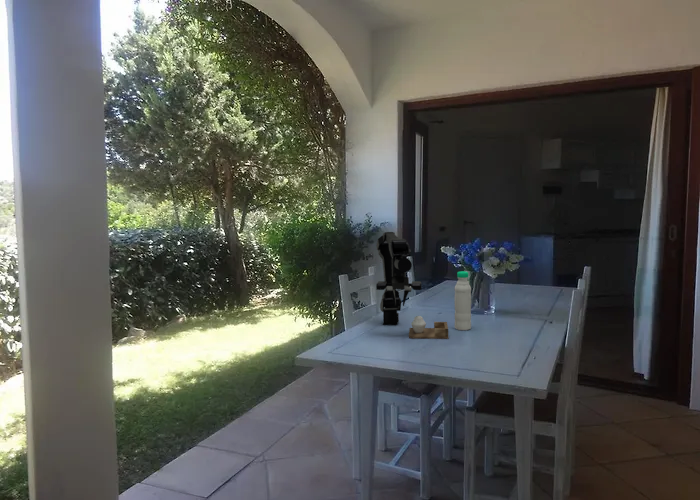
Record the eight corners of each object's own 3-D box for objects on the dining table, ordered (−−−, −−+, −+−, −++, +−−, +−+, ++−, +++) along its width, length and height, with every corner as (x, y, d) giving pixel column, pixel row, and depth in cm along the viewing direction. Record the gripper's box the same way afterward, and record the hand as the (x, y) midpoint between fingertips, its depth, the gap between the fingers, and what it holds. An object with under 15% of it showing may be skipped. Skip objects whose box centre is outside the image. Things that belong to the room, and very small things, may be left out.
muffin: (422, 334, 202) (422, 318, 201) (408, 332, 206) (408, 316, 205) (428, 331, 207) (428, 314, 207) (415, 329, 211) (415, 313, 210)
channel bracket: (408, 338, 200) (408, 329, 200) (409, 329, 214) (409, 321, 213) (448, 339, 198) (448, 329, 197) (446, 330, 211) (446, 321, 211)
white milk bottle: (471, 327, 216) (471, 270, 213) (470, 331, 209) (470, 273, 207) (455, 326, 218) (455, 270, 215) (453, 330, 211) (453, 272, 209)
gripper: (374, 271, 198) (375, 309, 200) (421, 271, 196) (421, 310, 197) (377, 268, 209) (377, 304, 211) (421, 268, 207) (421, 304, 208)
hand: (399, 305), depth 206 cm, fingers open, 3 cm apart
